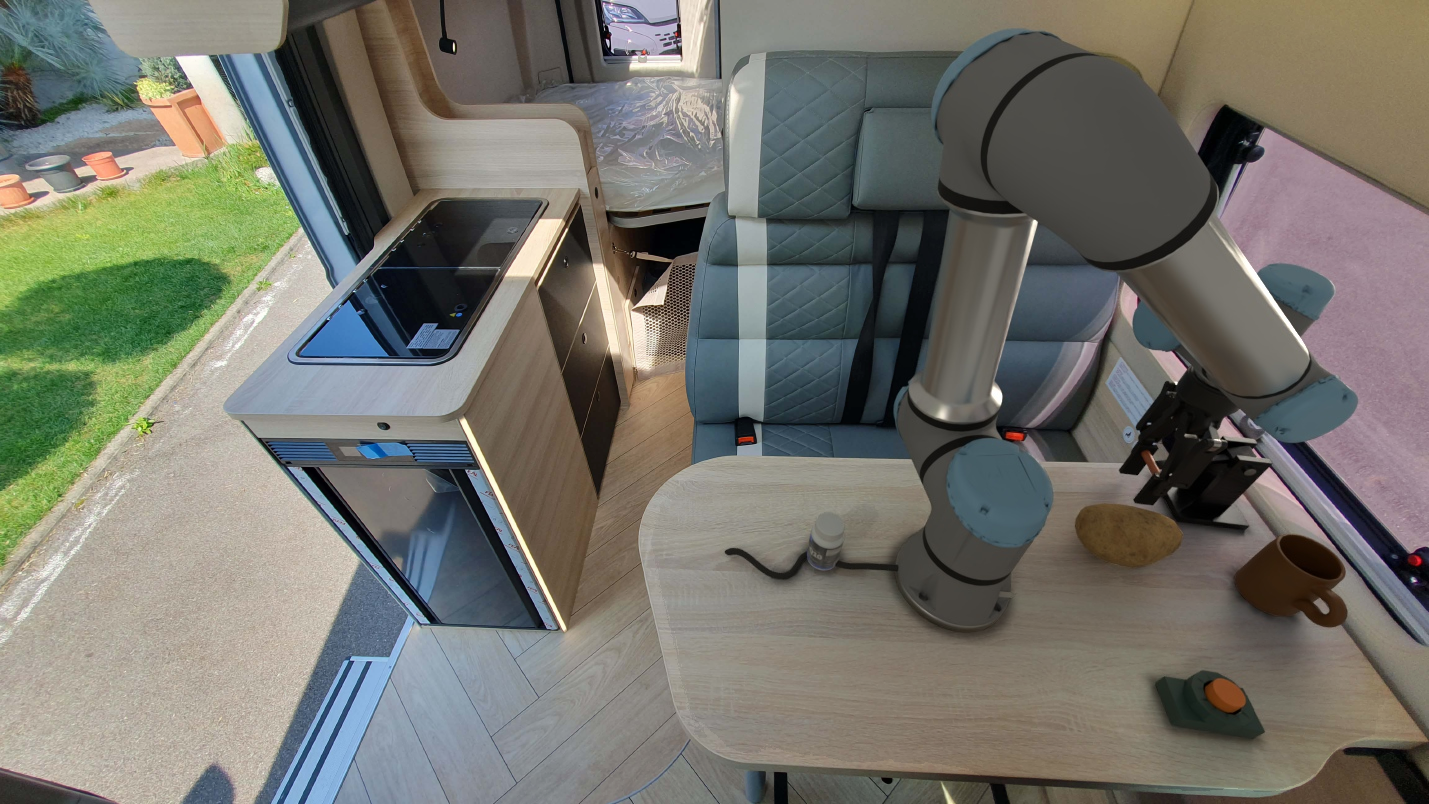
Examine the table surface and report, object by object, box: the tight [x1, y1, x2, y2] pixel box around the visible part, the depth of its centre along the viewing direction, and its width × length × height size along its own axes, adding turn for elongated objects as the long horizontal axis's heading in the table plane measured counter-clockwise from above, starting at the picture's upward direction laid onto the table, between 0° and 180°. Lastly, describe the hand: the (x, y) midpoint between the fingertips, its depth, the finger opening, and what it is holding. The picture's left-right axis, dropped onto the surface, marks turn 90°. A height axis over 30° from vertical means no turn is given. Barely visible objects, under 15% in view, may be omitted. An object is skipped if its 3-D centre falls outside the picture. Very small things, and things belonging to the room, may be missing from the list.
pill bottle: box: [806, 511, 846, 571], centre depth 82 cm, size 5×5×8 cm
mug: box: [1234, 533, 1349, 629], centre depth 77 cm, size 12×8×9 cm, turn 172°
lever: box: [1141, 446, 1258, 476], centre depth 88 cm, size 13×6×2 cm, turn 81°
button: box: [1205, 679, 1246, 713], centre depth 67 cm, size 3×3×2 cm
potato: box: [1074, 502, 1184, 569], centre depth 84 cm, size 10×14×8 cm
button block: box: [1154, 669, 1266, 740], centre depth 69 cm, size 9×6×4 cm
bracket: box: [1162, 435, 1273, 531], centre depth 89 cm, size 10×9×13 cm
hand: (1135, 487), depth 93 cm, fingers closed on lever, 5 cm apart
